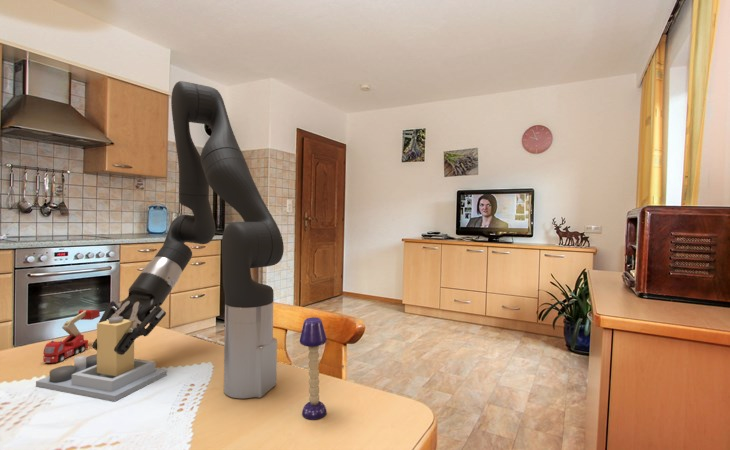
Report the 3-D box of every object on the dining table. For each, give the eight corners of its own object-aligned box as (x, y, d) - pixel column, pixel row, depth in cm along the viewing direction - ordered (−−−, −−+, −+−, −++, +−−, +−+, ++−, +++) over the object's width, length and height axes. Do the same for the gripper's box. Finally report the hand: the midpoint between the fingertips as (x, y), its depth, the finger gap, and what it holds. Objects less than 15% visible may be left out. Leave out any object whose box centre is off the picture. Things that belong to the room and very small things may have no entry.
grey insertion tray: (166, 375, 79) (166, 356, 79) (115, 401, 67) (115, 379, 67) (95, 363, 84) (95, 346, 84) (35, 386, 73) (36, 366, 73)
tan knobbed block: (134, 368, 76) (134, 316, 76) (116, 376, 73) (116, 321, 72) (115, 365, 78) (115, 314, 78) (96, 372, 74) (96, 319, 74)
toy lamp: (313, 424, 61) (315, 324, 61) (292, 415, 64) (294, 319, 63) (331, 411, 65) (332, 318, 65) (311, 404, 68) (312, 314, 68)
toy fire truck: (40, 364, 83) (40, 322, 83) (87, 343, 97) (87, 307, 97) (55, 364, 83) (55, 322, 83) (100, 344, 97) (100, 307, 97)
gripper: (121, 269, 84) (66, 338, 73) (173, 273, 80) (123, 346, 69) (141, 288, 89) (92, 355, 78) (191, 292, 85) (147, 363, 74)
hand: (107, 350), depth 73 cm, fingers closed on tan knobbed block, 5 cm apart
